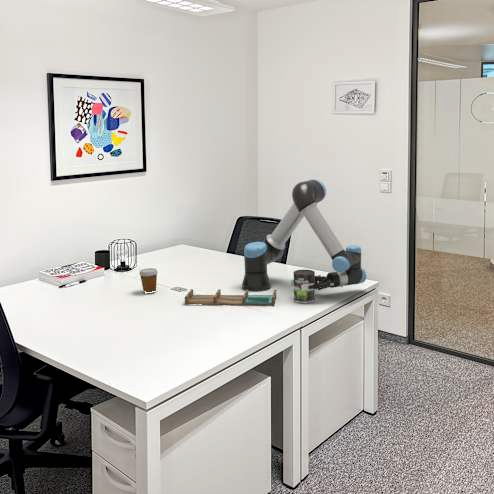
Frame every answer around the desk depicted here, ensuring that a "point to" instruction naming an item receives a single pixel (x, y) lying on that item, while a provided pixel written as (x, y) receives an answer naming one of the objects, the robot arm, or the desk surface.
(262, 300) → the slot rack
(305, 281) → the coffee can
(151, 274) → the disposable coffee cup
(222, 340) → the desk surface
